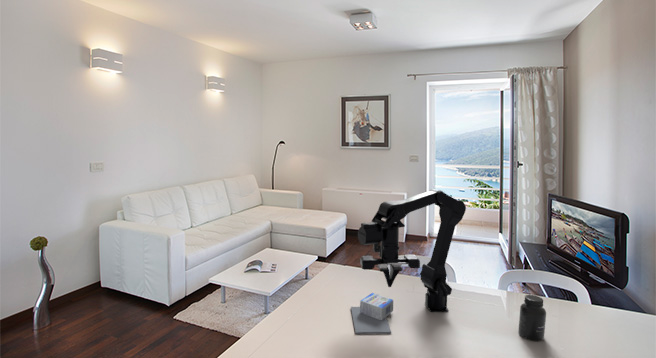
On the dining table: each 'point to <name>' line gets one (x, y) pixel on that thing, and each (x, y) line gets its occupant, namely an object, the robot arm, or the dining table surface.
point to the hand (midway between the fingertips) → (389, 286)
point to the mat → (368, 323)
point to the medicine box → (376, 306)
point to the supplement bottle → (532, 318)
